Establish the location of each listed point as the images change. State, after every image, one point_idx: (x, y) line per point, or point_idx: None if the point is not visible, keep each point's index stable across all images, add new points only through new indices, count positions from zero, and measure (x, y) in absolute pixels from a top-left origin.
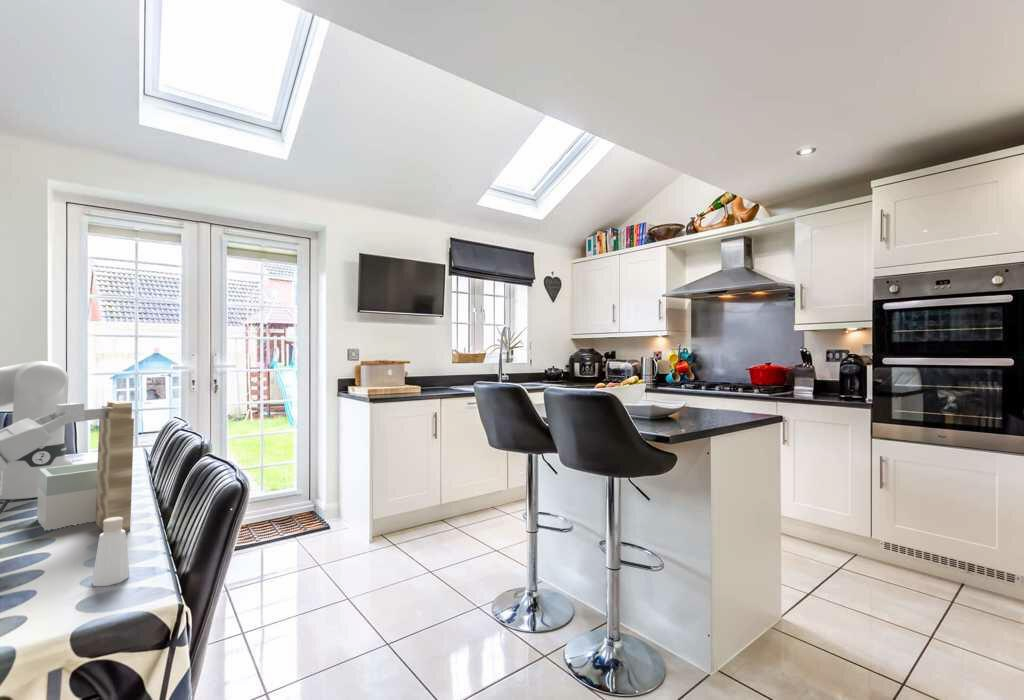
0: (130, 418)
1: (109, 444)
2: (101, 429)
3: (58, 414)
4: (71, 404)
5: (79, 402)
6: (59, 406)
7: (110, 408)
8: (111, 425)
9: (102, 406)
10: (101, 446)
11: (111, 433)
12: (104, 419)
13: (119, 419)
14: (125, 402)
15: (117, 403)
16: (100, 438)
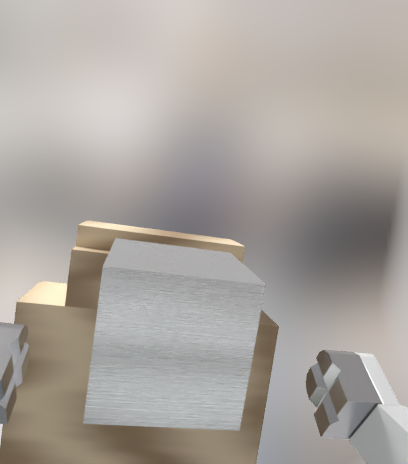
0: None
1: (230, 436)
2: (68, 373)
3: (174, 358)
4: (242, 266)
5: (120, 239)
6: (247, 292)
7: None
8: (267, 350)
9: (88, 253)
10: (72, 458)
11: (266, 386)
12: None
13: (266, 317)
14: (193, 235)
15: (237, 244)
16: (48, 420)
